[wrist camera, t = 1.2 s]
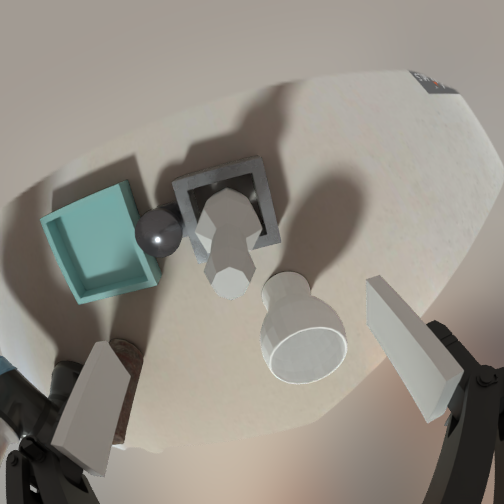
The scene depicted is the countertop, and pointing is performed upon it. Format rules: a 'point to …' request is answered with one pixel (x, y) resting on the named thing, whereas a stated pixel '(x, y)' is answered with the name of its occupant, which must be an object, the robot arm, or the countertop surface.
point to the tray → (100, 245)
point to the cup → (299, 331)
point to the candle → (133, 365)
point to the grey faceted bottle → (229, 241)
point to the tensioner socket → (187, 212)
